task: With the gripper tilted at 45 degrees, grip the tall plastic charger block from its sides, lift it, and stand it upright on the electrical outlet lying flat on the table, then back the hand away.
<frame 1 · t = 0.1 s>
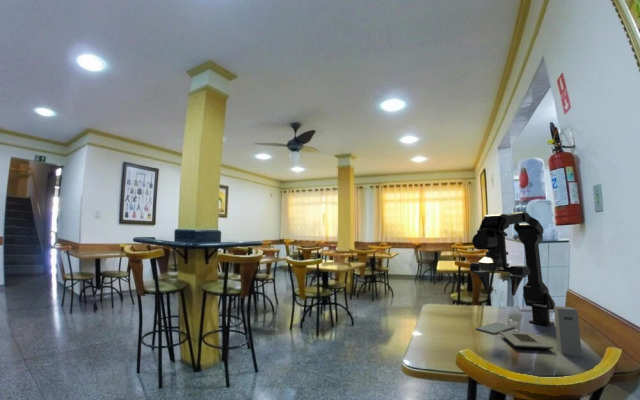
hand: (499, 293, 110), 15 cm above the table, tool pointing down, fingers open, 9 cm apart
electrical outlet: (524, 345, 100), on the table
charger: (569, 352, 93), on the table
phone: (495, 330, 116), on the table
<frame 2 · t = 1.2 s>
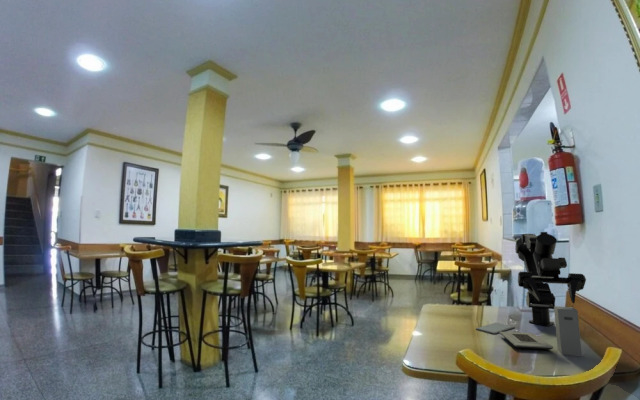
hand: (556, 301, 101), 13 cm above the table, tool tilted 45°, fingers open, 9 cm apart
nothing on the table moved.
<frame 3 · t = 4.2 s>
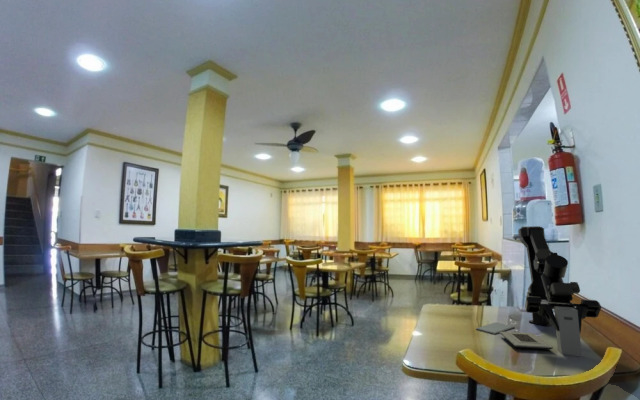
hand: (568, 331, 92), 7 cm above the table, tool tilted 45°, fingers closed on charger, 5 cm apart
charger: (569, 352, 93), on the table, touching gripper
everything else where it was.
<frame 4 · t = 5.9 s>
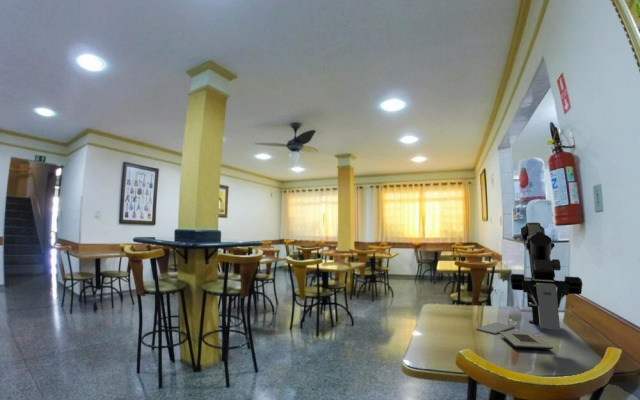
hand: (547, 306, 95), 13 cm above the table, tool tilted 45°, fingers closed on charger, 5 cm apart
charger: (549, 327, 96), point 7 cm above the table, touching gripper
everything else where it was.
when the fingers open (10 cm above the table, at t = 7.7 s): charger drops 2 cm, resting on electrical outlet.
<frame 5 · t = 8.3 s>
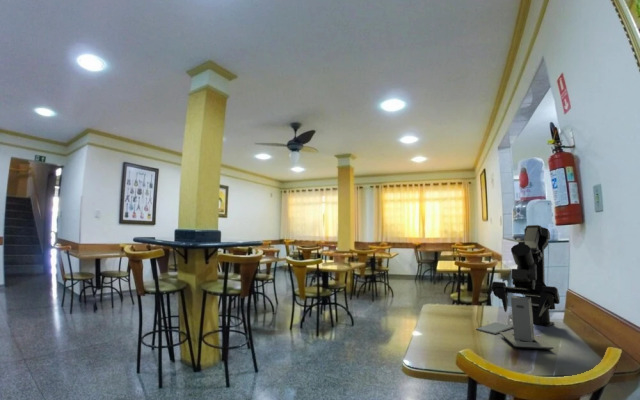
hand: (521, 313, 99), 10 cm above the table, tool tilted 45°, fingers open, 9 cm apart
electrical outlet: (524, 346, 100), on the table, touching charger
charger: (524, 339, 100), point 2 cm above the table, touching electrical outlet
everything else where it was.
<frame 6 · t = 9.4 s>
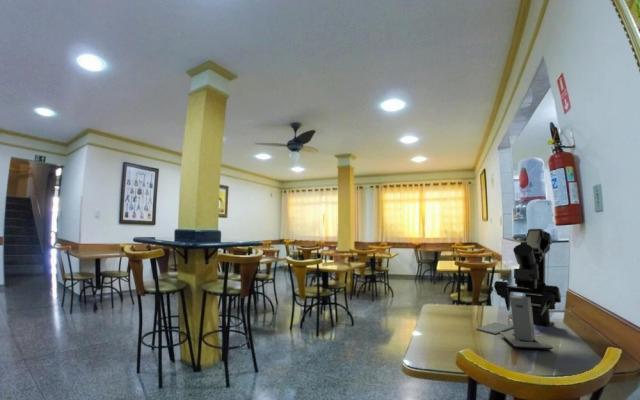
hand: (523, 312, 102), 10 cm above the table, tool tilted 45°, fingers open, 9 cm apart
nothing on the table moved.
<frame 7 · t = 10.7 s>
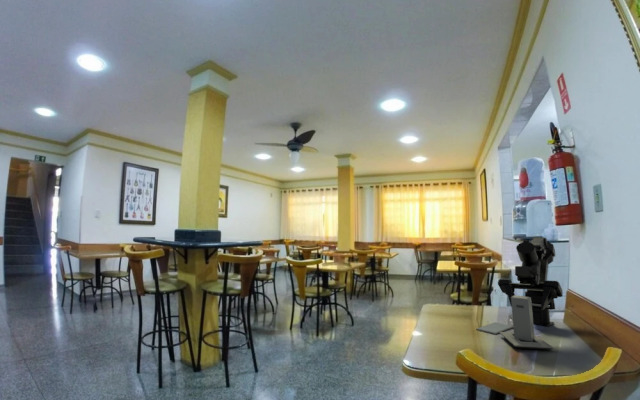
hand: (526, 307, 107), 10 cm above the table, tool tilted 45°, fingers open, 9 cm apart
nothing on the table moved.
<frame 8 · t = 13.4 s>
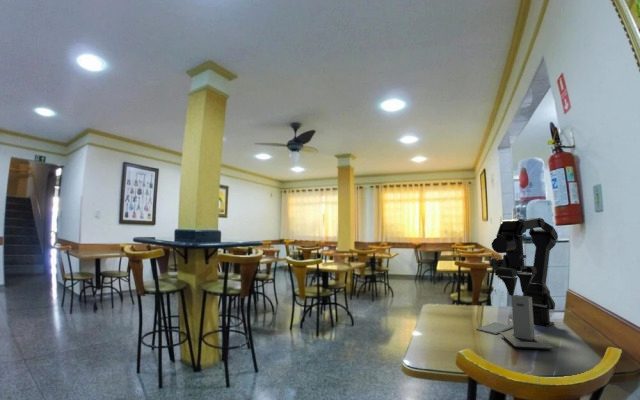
hand: (517, 294, 116), 13 cm above the table, tool pointing down, fingers open, 9 cm apart
electrical outlet: (525, 346, 100), on the table
charger: (524, 337, 101), point 2 cm above the table
everything else where it was.
at the end: charger inside the target area on the electrical outlet (0.4 cm from its centre), point 2.7 cm above the electrical outlet's base; charger tilted 3°; the gripper is holding nothing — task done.
